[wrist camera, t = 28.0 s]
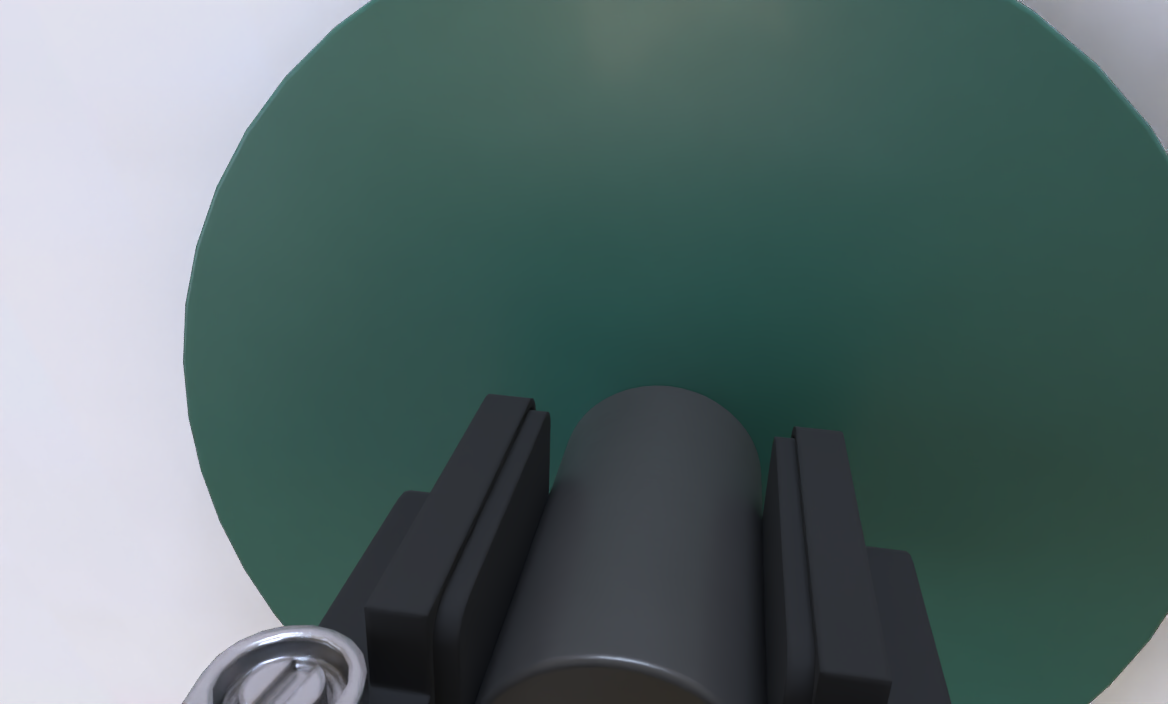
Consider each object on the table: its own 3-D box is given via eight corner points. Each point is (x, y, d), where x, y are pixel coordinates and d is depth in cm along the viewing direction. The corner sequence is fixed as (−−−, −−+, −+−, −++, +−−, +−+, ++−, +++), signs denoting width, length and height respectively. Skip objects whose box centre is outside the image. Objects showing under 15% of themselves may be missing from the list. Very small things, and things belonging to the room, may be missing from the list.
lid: (1365, -76, 10) (2254, -106, 4) (1049, 830, 15) (1230, 1353, 9) (160, -111, 11) (-416, -166, 6) (276, 711, 17) (44, 1089, 11)
